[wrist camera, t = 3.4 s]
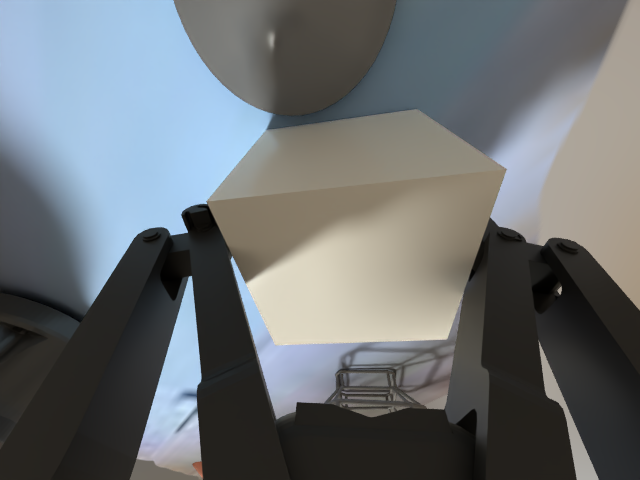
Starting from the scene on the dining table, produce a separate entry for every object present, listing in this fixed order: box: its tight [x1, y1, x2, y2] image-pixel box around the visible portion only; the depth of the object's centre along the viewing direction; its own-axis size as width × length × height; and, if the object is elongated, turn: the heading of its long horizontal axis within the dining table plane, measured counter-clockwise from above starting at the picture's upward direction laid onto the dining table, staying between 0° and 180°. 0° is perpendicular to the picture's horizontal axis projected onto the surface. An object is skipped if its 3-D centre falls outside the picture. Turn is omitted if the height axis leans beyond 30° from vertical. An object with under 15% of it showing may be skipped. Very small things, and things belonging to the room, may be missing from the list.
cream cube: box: [206, 109, 507, 345], centre depth 14 cm, size 9×9×9 cm
